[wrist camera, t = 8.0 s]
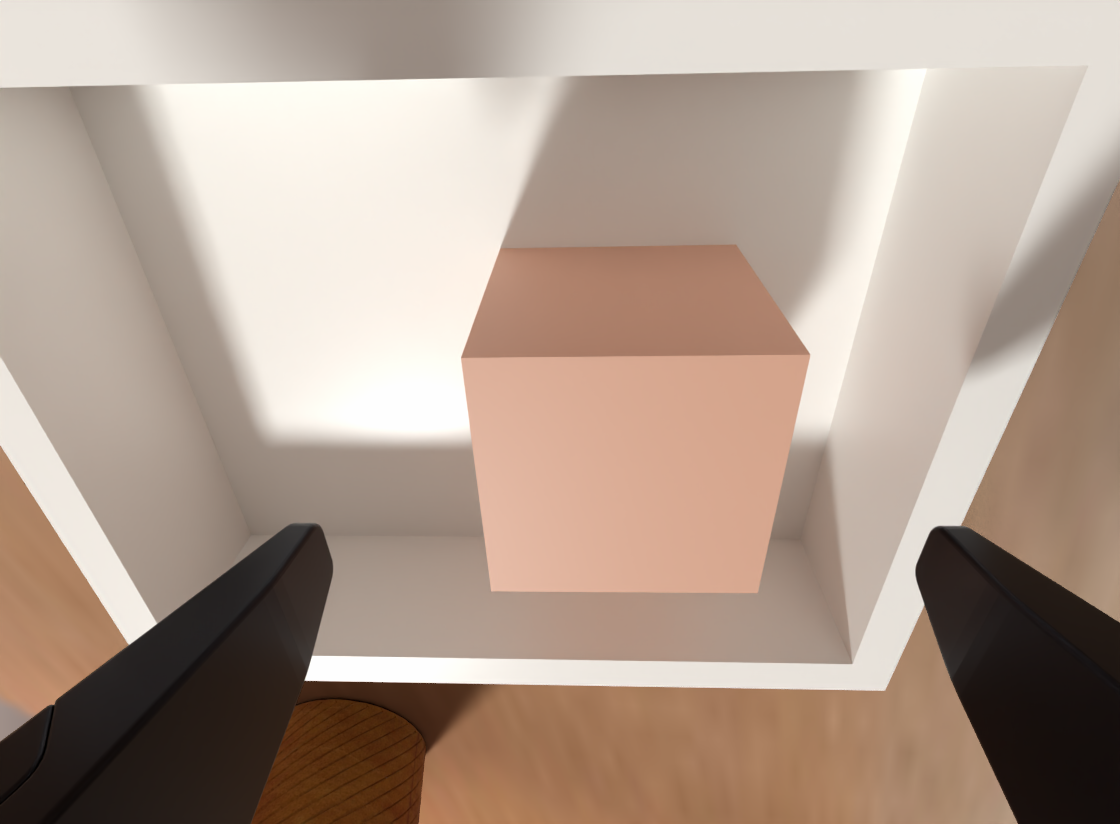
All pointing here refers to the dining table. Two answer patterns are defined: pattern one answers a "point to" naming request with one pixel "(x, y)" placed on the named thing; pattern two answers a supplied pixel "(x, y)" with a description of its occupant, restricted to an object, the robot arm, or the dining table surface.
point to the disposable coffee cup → (345, 767)
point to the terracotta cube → (629, 418)
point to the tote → (463, 273)
